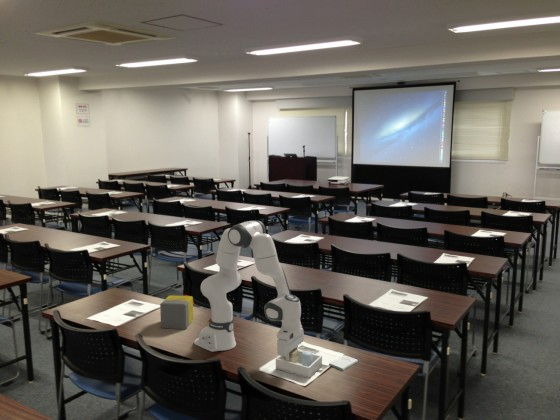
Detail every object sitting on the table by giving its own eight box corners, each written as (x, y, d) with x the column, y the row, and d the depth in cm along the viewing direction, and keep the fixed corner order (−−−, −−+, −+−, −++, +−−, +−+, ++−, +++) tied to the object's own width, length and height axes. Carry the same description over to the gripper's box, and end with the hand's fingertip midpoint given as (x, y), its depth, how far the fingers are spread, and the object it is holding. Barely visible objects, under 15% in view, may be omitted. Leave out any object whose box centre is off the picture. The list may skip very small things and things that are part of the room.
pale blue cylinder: (299, 368, 216) (299, 354, 215) (304, 364, 221) (304, 350, 220) (309, 371, 214) (309, 356, 213) (314, 366, 218) (314, 352, 217)
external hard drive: (328, 366, 222) (344, 357, 231) (342, 371, 217) (357, 362, 226) (328, 363, 222) (344, 354, 231) (342, 368, 216) (358, 359, 225)
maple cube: (284, 361, 220) (284, 351, 220) (289, 357, 225) (289, 347, 224) (293, 363, 218) (293, 353, 217) (298, 359, 222) (298, 349, 222)
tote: (275, 368, 218) (275, 358, 217) (289, 357, 230) (289, 347, 229) (309, 378, 209) (309, 368, 209) (321, 366, 221) (322, 356, 220)
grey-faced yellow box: (198, 314, 288) (197, 291, 285) (186, 329, 264) (185, 304, 261) (174, 313, 289) (173, 290, 287) (160, 328, 265) (159, 303, 263)
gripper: (295, 321, 230) (295, 347, 232) (274, 335, 212) (274, 364, 214) (307, 323, 226) (306, 350, 228) (286, 338, 209) (286, 367, 211)
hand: (291, 357), depth 221 cm, fingers closed on maple cube, 5 cm apart
